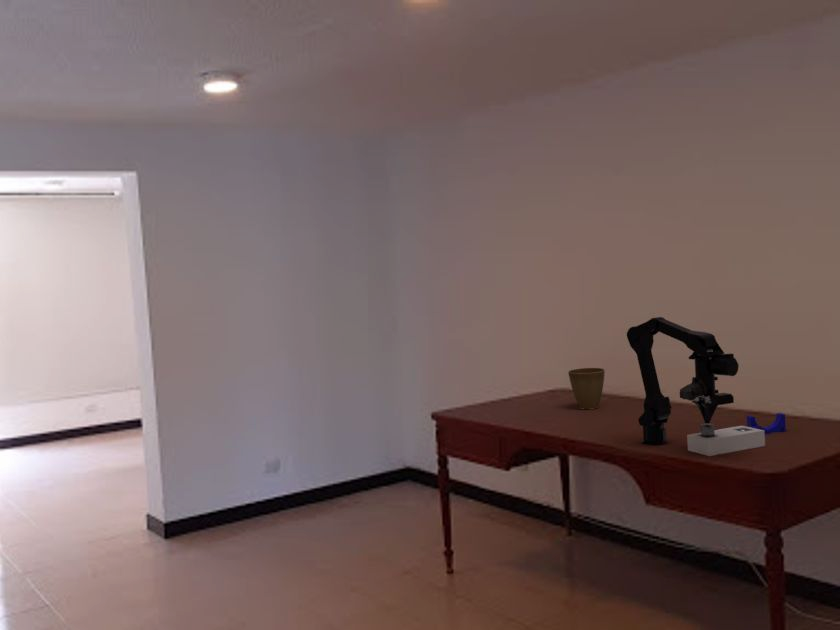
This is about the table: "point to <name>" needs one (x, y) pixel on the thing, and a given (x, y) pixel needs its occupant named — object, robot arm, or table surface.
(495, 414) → the table surface
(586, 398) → the plant pot
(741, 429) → the far peg
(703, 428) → the near peg
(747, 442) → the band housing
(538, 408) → the table surface
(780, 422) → the blue arch block
